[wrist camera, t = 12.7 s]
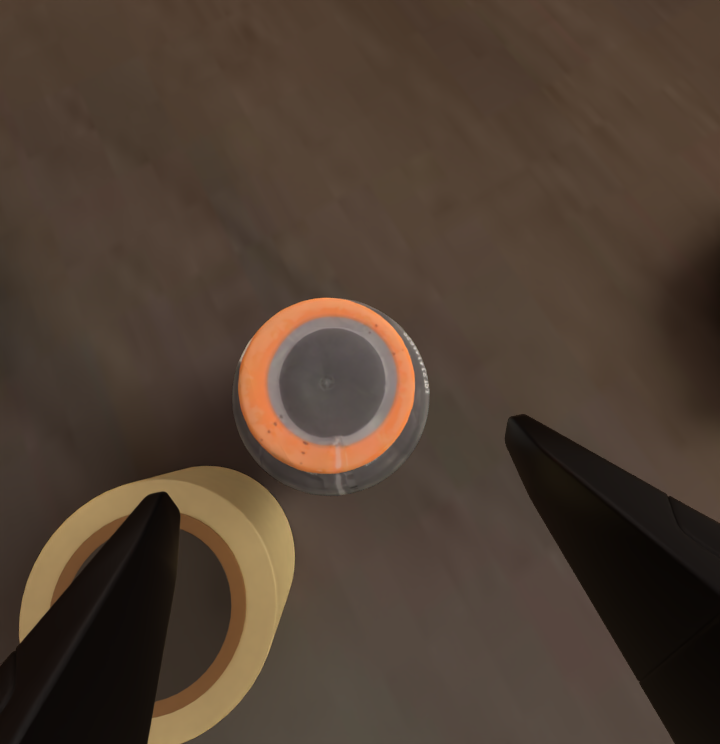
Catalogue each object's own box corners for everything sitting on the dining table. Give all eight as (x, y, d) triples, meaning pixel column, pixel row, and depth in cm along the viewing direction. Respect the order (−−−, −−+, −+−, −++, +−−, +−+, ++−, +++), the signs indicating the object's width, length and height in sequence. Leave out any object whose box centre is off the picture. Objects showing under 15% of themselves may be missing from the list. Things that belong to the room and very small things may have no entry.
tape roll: (216, 705, 17) (164, 818, 12) (65, 586, 17) (-43, 648, 13) (331, 536, 18) (326, 576, 13) (188, 429, 19) (133, 430, 14)
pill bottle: (258, 388, 19) (137, 335, 8) (354, 330, 20) (367, 205, 9) (318, 488, 19) (278, 582, 7) (415, 424, 19) (515, 421, 8)
